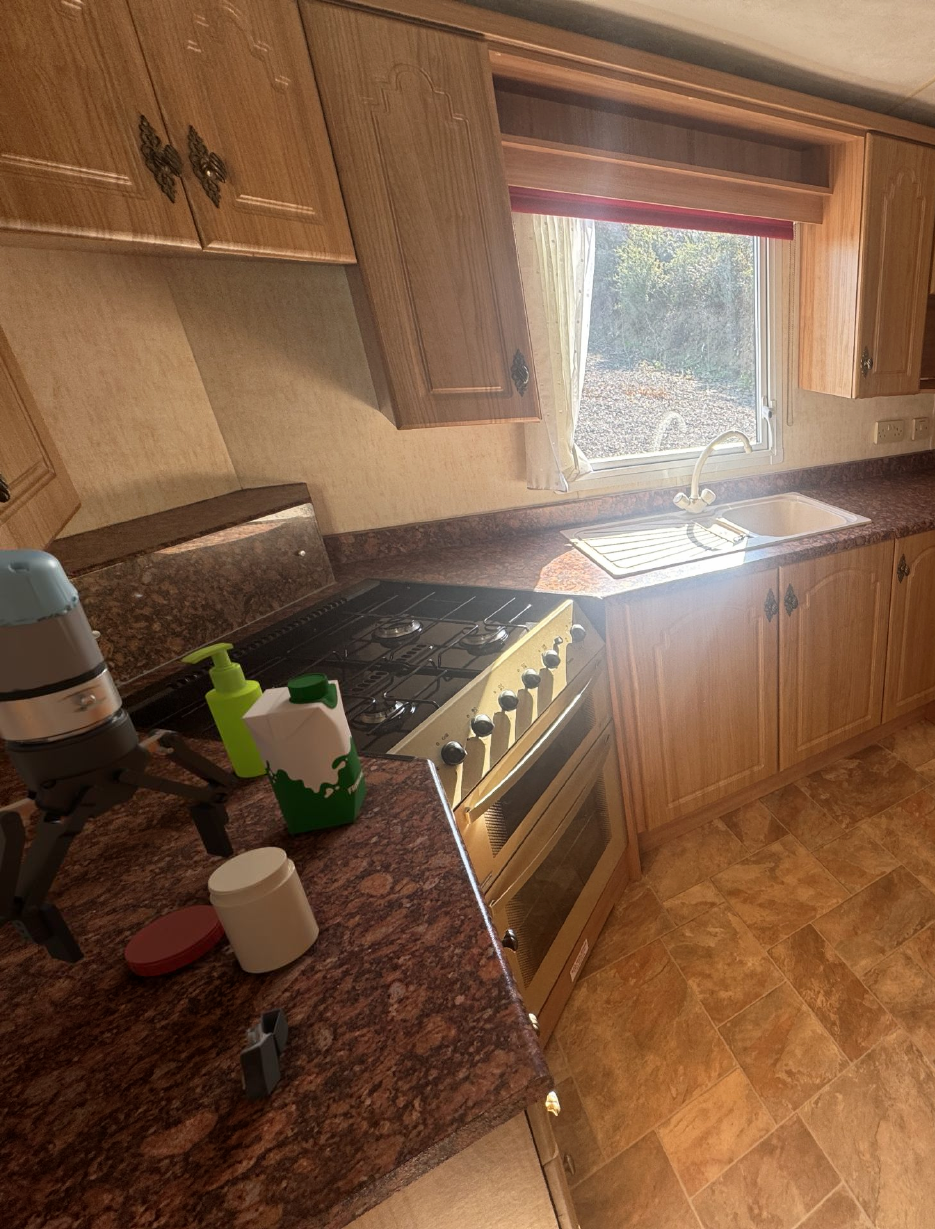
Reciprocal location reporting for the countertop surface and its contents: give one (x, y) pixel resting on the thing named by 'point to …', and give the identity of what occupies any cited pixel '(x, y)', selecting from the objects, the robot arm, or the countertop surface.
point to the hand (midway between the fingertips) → (152, 900)
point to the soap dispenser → (232, 708)
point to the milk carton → (308, 753)
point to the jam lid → (174, 941)
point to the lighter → (263, 1054)
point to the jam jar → (263, 909)
